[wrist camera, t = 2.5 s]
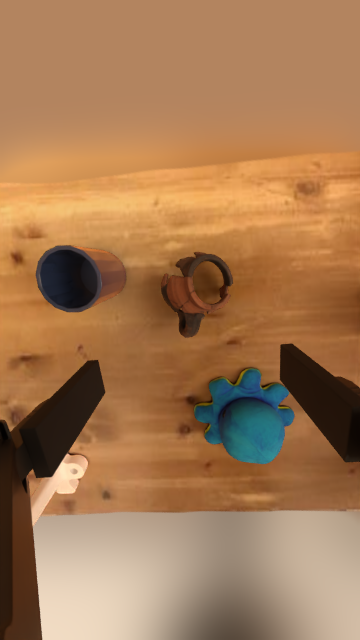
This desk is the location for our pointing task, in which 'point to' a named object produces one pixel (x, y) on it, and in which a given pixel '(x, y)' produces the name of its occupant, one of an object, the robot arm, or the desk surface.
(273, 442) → the plush toy
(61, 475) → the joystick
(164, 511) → the desk surface
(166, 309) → the desk surface
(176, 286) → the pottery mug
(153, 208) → the desk surface
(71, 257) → the cup
